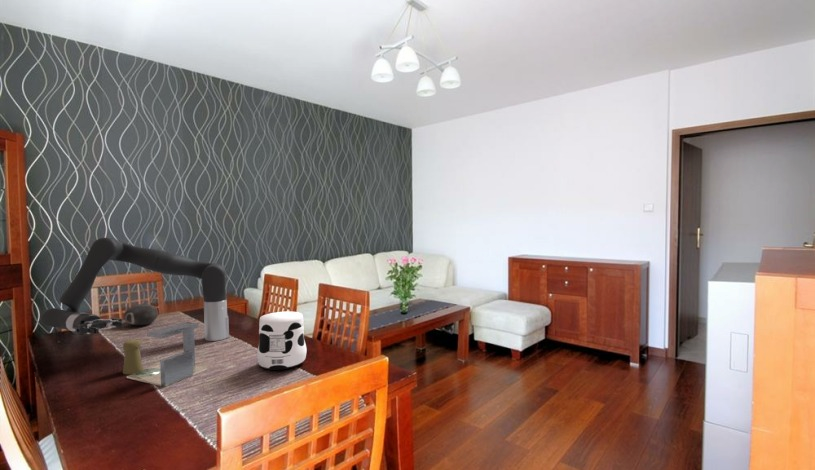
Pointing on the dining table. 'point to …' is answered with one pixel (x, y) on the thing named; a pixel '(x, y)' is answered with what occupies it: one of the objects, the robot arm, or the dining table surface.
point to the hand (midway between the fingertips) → (110, 328)
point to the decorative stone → (140, 314)
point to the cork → (132, 357)
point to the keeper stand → (172, 358)
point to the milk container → (281, 340)
